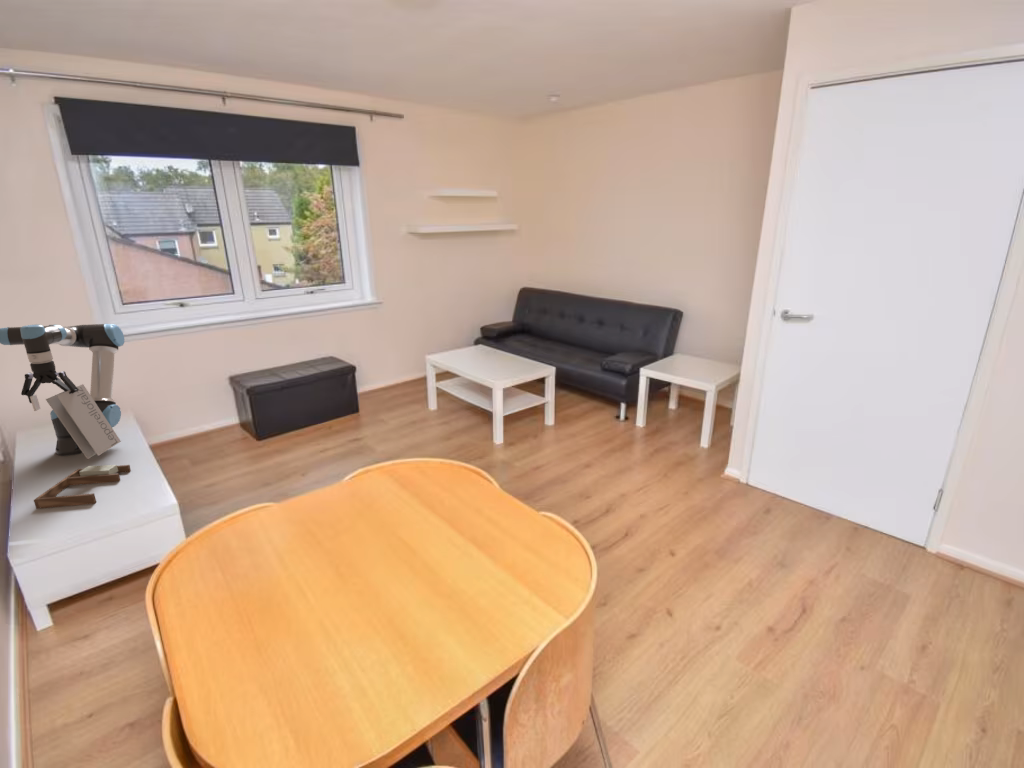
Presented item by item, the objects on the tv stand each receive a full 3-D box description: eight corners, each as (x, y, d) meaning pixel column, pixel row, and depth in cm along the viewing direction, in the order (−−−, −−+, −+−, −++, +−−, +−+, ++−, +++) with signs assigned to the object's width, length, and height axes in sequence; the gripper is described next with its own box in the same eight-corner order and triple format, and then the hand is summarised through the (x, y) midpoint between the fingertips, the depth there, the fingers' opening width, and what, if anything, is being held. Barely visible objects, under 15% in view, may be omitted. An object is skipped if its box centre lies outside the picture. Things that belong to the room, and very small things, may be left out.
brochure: (98, 455, 220) (57, 395, 210) (87, 459, 220) (45, 399, 210) (121, 441, 233) (83, 384, 223) (110, 444, 234) (72, 387, 224)
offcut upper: (90, 472, 225) (88, 466, 224) (118, 471, 226) (116, 464, 225) (80, 477, 219) (79, 471, 219) (109, 476, 221) (108, 470, 220)
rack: (80, 476, 226) (78, 468, 225) (131, 472, 230) (129, 464, 229) (36, 508, 199) (33, 499, 198) (94, 503, 203) (92, 494, 202)
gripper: (0, 365, 206) (15, 413, 212) (69, 362, 210) (82, 409, 217) (14, 360, 213) (28, 407, 219) (80, 358, 217) (92, 404, 224)
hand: (55, 408), depth 218 cm, fingers open, 13 cm apart
